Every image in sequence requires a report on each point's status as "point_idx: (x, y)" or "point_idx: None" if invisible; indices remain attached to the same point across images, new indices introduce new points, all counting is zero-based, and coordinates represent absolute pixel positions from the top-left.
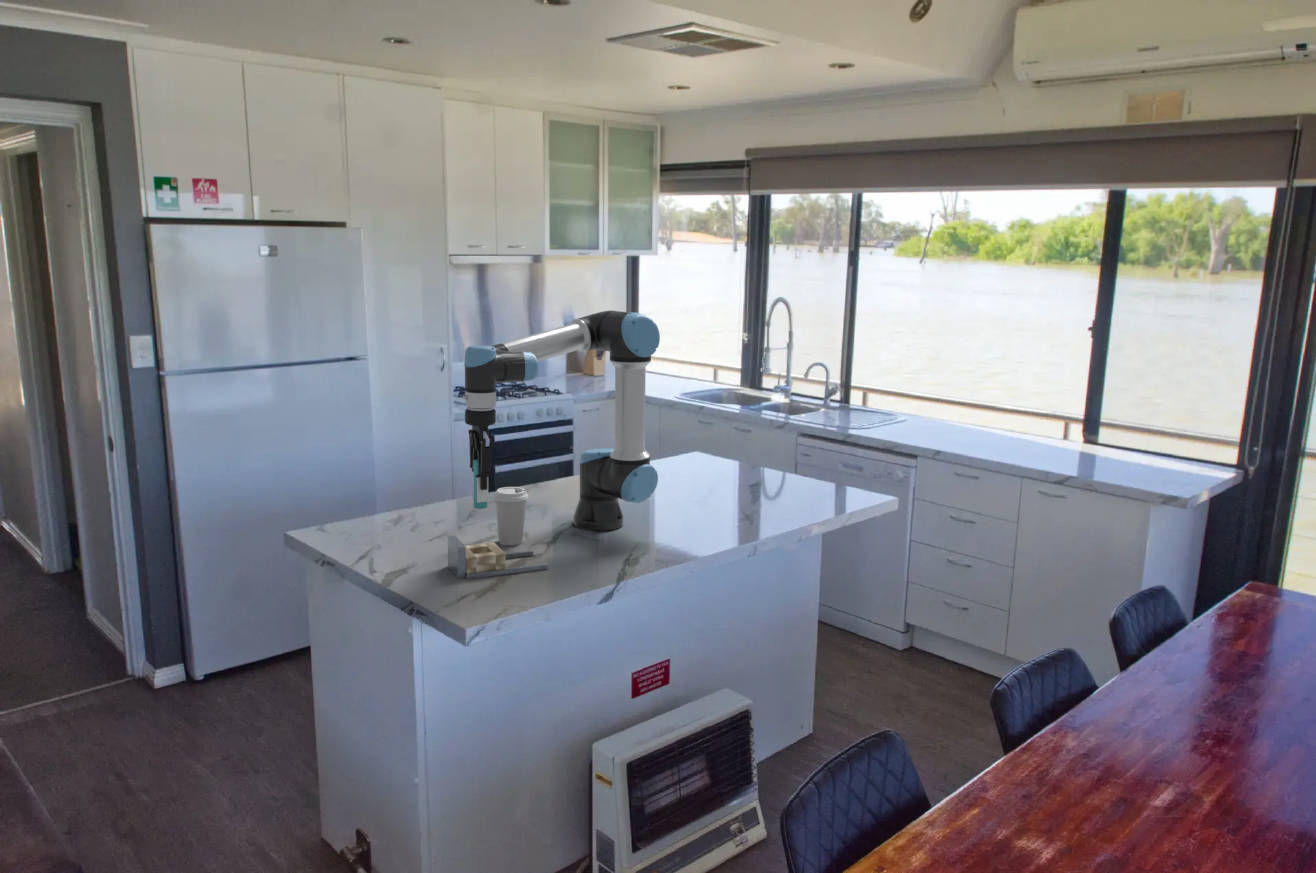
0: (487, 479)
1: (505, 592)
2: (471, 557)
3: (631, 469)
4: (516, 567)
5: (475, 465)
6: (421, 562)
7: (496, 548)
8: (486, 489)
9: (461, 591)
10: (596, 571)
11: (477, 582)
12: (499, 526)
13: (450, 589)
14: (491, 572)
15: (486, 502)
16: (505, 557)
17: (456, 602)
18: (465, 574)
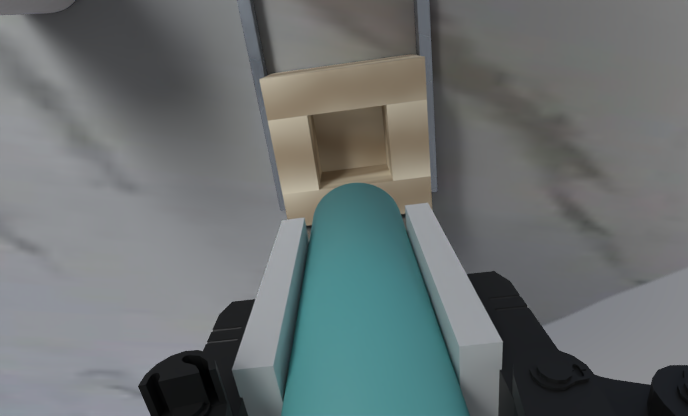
0: (486, 322)
1: (594, 87)
2: (429, 193)
3: None
4: (418, 8)
5: None
6: (253, 288)
7: (345, 82)
8: (496, 276)
9: (528, 213)
10: None
11: (471, 160)
12: (10, 10)
13: (500, 238)
14: (433, 110)
15: (388, 204)
16: (256, 24)
17: (604, 234)
18: None
